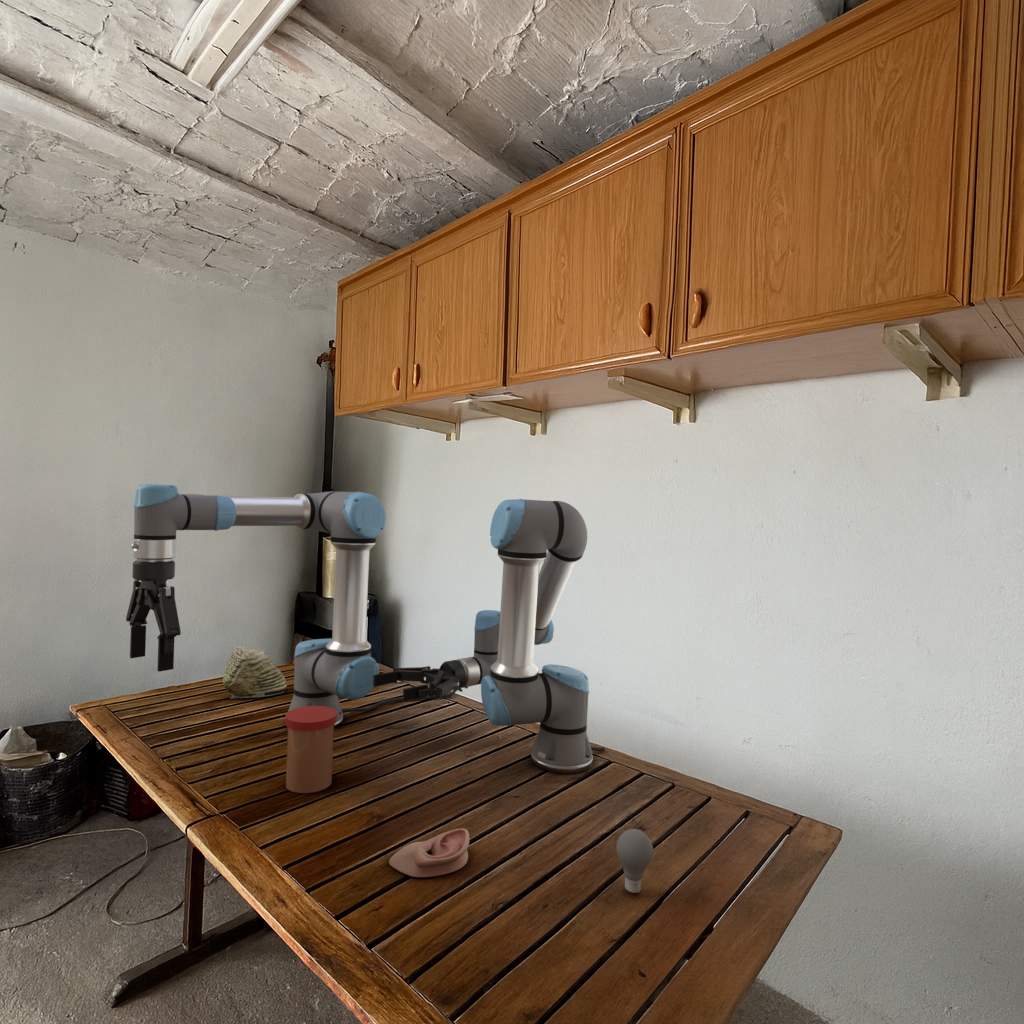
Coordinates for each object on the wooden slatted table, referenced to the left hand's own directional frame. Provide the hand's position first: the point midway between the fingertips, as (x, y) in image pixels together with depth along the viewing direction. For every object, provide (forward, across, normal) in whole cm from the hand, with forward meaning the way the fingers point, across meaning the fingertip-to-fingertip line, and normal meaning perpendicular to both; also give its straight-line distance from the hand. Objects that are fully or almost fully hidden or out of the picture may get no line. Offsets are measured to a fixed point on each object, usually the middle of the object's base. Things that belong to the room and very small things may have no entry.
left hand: (151, 663), depth 129 cm
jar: (+28, +17, +27) cm, 42 cm away
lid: (+13, +17, +27) cm, 34 cm away
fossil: (+28, -47, +50) cm, 74 cm away
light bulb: (+28, +89, +41) cm, 102 cm away
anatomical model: (+28, +58, +24) cm, 69 cm away
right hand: (+10, +20, +46) cm, 51 cm away
